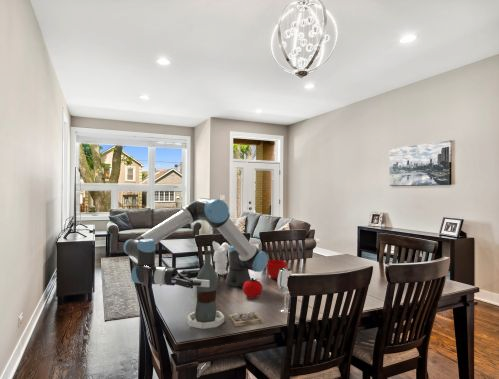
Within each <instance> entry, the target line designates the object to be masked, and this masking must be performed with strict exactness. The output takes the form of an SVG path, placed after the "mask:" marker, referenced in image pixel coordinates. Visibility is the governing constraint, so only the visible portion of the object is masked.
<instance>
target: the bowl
mask: <svg viewBox="0 0 499 379" xmlns="http://www.w3.org/2000/svg"><path fill="white" fill-rule="evenodd" d="M186 322H187V325H188V327H189V328H192V327H193V328H197V329H202V330H204V329H211V328H218V327H219V326H221V325H222V324H223V323H224V322H225V315H224V314H223V313H222V312H221V311H220V310H216V318H215V321H213V322H205V323H202V322H197V321H196V315H195V310H194V311H193V312H191V313H189V314H187V316H186Z"/></svg>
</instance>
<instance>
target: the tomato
mask: <svg viewBox="0 0 499 379" xmlns="http://www.w3.org/2000/svg"><path fill="white" fill-rule="evenodd" d="M250 278H251V280H250V279H248V281H246V282H245V283H244V285H243V287H242V292H243V293H244V295H245V296H246V297H248V298H252V299H253V298H257V297H260V295H261V294H262V292H263V285H262V283H261V281H259V280H258V278H256V279H254V277H250Z"/></svg>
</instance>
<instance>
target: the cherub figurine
mask: <svg viewBox="0 0 499 379" xmlns="http://www.w3.org/2000/svg"><path fill="white" fill-rule="evenodd" d="M229 244H230V243H229V242H223V243H222V244H220V243H219V242H217V241H215V240H213V241H212V248H213V251H214V253H213V258H212V260H213V262H214V267H215V268H214V269H215V272H218V274H219V275H221V276H222V275H223V276H224V275H228V271H227V265H228V264H227V263H229V260H228V256H227V254H228V252H229V250H230V246H229ZM219 275H218V276H219Z"/></svg>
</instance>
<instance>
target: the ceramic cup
mask: <svg viewBox="0 0 499 379" xmlns="http://www.w3.org/2000/svg"><path fill="white" fill-rule="evenodd" d="M265 268H266V272H267V274H268V275H269V278H271V279H274V280H277V279H278V274H279V270H280V269H281V268H289V266H287V261H285V260H281V259H271V260H270V259H268V262H267V266H266V267H265Z"/></svg>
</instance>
